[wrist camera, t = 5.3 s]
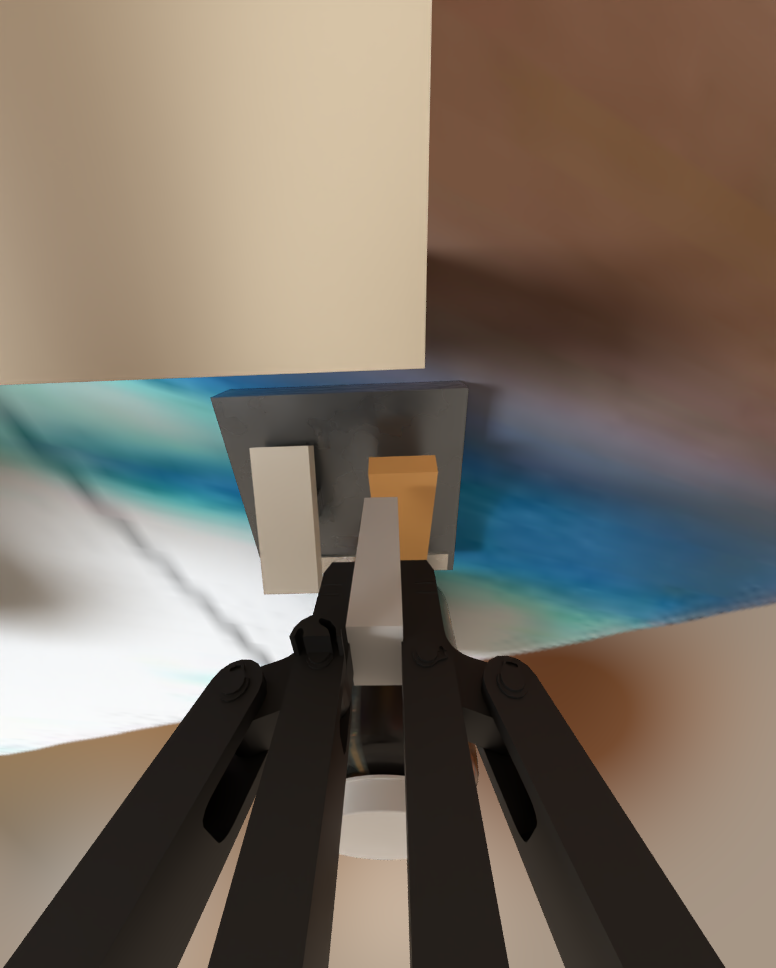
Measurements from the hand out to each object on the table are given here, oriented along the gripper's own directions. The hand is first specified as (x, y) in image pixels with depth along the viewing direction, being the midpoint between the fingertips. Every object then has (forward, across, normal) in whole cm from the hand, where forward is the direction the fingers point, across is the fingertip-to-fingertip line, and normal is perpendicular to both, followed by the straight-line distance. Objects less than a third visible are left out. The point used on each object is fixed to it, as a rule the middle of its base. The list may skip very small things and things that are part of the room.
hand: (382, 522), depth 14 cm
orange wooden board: (+4, +1, -2) cm, 4 cm away
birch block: (+9, -3, +10) cm, 13 cm away
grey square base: (+9, -2, -2) cm, 9 cm away
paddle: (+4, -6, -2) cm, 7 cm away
